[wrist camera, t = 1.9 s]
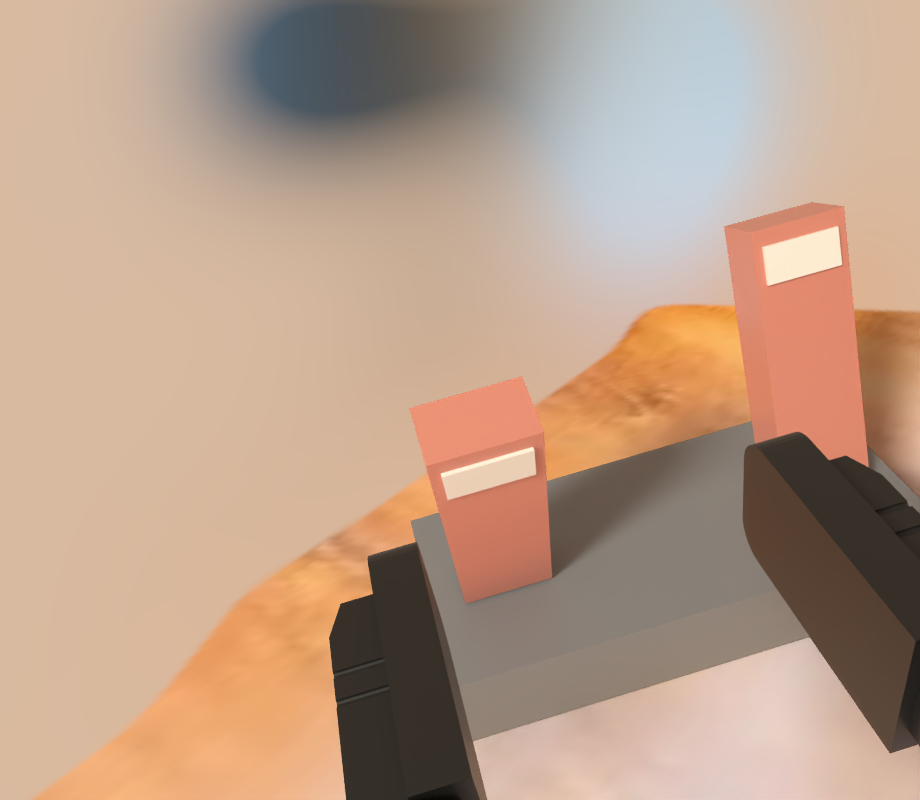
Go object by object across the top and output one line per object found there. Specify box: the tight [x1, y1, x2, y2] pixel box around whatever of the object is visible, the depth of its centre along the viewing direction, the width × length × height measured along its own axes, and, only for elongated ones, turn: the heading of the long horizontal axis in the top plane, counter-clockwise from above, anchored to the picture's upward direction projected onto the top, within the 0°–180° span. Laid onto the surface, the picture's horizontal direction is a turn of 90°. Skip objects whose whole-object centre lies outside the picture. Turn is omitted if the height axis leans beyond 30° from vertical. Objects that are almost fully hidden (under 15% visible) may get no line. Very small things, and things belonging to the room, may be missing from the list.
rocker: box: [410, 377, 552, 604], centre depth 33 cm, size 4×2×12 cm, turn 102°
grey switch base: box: [411, 421, 920, 741], centre depth 40 cm, size 22×10×4 cm, turn 103°
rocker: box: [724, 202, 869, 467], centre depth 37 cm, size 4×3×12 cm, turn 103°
